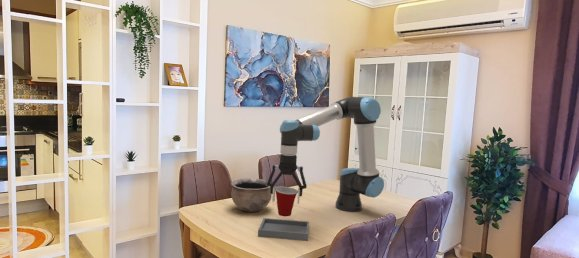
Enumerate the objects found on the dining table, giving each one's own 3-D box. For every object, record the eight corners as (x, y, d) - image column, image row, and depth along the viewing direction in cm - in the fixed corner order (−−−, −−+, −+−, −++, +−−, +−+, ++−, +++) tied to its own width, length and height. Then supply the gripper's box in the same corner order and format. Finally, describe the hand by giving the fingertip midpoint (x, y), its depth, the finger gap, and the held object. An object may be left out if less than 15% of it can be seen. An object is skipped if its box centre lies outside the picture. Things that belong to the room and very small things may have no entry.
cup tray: (308, 227, 173) (309, 221, 173) (307, 240, 157) (308, 233, 157) (263, 224, 175) (263, 217, 174) (257, 236, 159) (258, 229, 158)
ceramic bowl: (275, 206, 203) (277, 180, 202) (264, 218, 182) (265, 189, 181) (238, 202, 208) (239, 176, 207) (223, 213, 187) (224, 185, 186)
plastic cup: (294, 219, 159) (296, 193, 158) (270, 216, 161) (272, 190, 160) (298, 212, 169) (300, 187, 168) (276, 209, 171) (277, 185, 170)
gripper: (314, 154, 166) (311, 201, 167) (264, 151, 167) (262, 197, 169) (314, 157, 158) (311, 206, 160) (261, 153, 160) (259, 202, 162)
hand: (285, 202), depth 165 cm, fingers closed on plastic cup, 11 cm apart
